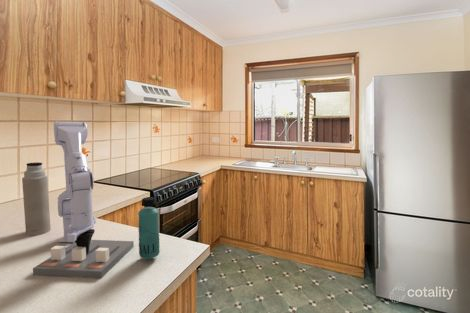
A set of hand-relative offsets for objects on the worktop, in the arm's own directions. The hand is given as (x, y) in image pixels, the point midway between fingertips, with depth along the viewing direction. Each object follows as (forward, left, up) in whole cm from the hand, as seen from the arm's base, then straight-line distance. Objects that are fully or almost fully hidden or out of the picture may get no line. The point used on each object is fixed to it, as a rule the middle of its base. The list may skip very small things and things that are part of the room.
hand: (84, 254), depth 81 cm
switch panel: (-2, 0, -3) cm, 4 cm away
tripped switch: (+2, 0, -1) cm, 2 cm away
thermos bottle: (-22, -34, -3) cm, 41 cm away
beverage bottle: (-4, +19, -3) cm, 20 cm away
